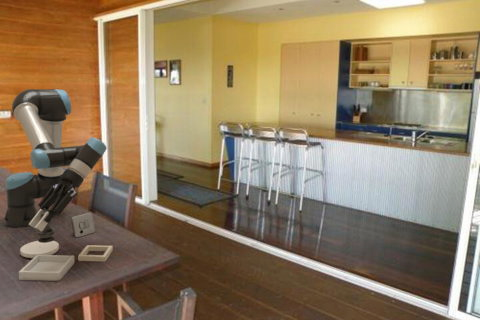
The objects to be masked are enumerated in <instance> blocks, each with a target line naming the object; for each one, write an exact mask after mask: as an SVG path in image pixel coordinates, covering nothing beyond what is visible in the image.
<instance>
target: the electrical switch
mask: <svg viewBox="0 0 480 320" xmlns="http://www.w3.org/2000/svg"><path fill="white" fill-rule="evenodd" d="M93 217H94V216H93V214H92V212H87V213H83V214H79V215H75V216H72V218H70V222H71V228H72V233H73V236H75V238H80V237H83V236H87V235H91V234H93V233H95V232H96V229H95V224H94V223H95V222H94V219H93Z"/></svg>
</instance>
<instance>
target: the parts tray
mask: <svg viewBox="0 0 480 320" xmlns="http://www.w3.org/2000/svg"><path fill="white" fill-rule="evenodd" d="M74 264H75V255H67V254H66V255H64V254H63V255H59V254H58V255H57V254H56V255H55V254H51V255H36V256H35V257H34V258H31V260H30V261H29V262H27V263H26V264H25V265H24V266H23V267H22V268H21V269H20V270H18V279H19V281H46V282H47V281H49V282H53V281H55V282H60V281H61V280H62V279H63V278H64V276H65V275H66V274H67V273H68V271H69V270H71V268H72V267H73V265H74Z"/></svg>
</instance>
